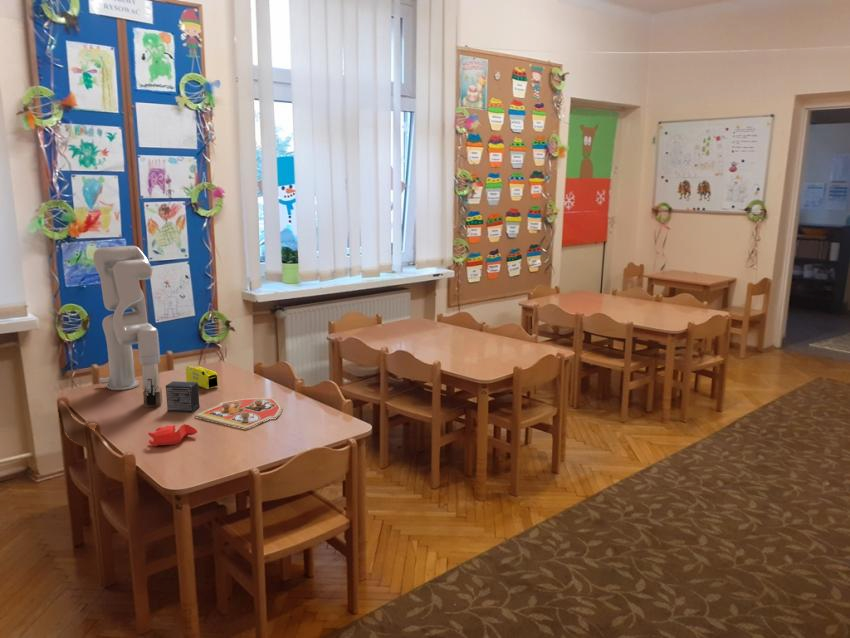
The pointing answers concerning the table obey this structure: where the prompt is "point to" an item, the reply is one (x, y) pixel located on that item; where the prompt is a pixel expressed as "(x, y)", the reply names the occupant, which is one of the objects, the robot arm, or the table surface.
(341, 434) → the table surface
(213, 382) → the yellow toy chassis
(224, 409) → the knob puzzle
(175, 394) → the small box
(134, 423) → the table surface
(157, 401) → the walnut cube
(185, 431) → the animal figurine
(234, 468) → the table surface
